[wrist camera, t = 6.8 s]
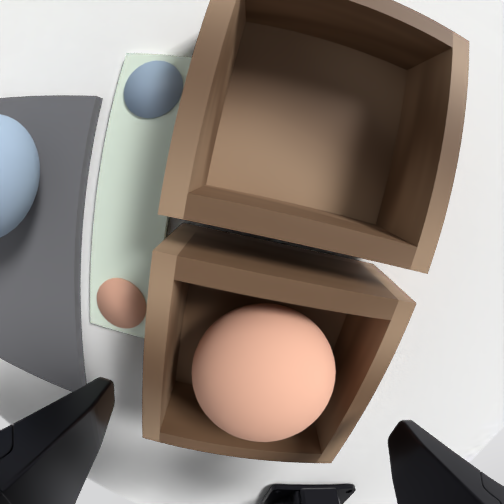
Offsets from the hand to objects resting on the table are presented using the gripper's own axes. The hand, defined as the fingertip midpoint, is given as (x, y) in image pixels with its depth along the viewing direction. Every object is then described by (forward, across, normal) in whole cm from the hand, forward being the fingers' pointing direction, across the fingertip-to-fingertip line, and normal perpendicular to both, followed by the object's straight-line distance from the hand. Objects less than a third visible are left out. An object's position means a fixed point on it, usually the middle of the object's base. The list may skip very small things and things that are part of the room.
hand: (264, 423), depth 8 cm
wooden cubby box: (+6, 0, 0) cm, 6 cm away
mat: (+6, +12, -1) cm, 13 cm away
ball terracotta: (+5, 0, 0) cm, 5 cm away
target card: (+6, +6, -4) cm, 9 cm away
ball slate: (+5, +12, -5) cm, 14 cm away
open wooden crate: (+6, 0, -9) cm, 11 cm away
